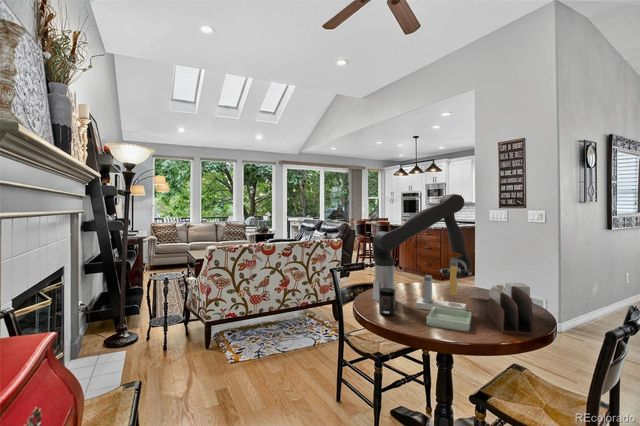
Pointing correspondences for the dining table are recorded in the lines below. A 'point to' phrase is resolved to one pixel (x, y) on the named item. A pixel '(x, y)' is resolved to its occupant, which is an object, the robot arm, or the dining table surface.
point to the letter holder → (512, 312)
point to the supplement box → (520, 285)
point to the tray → (449, 319)
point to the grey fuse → (428, 289)
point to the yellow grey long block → (453, 276)
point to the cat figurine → (496, 292)
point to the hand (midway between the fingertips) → (453, 275)
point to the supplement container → (387, 301)
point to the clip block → (440, 305)
